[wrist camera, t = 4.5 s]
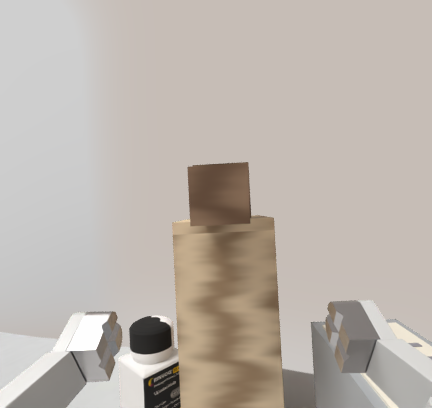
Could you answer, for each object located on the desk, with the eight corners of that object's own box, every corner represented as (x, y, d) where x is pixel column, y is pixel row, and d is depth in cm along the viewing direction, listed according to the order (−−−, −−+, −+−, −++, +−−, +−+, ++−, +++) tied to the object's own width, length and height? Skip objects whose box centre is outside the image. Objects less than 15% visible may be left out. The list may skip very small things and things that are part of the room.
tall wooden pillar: (267, 394, 41) (258, 215, 42) (288, 490, 27) (273, 217, 28) (199, 396, 41) (190, 218, 42) (184, 491, 27) (172, 222, 28)
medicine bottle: (146, 435, 34) (141, 336, 35) (119, 408, 40) (115, 322, 40) (191, 405, 39) (187, 318, 40) (162, 384, 45) (158, 308, 45)
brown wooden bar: (247, 216, 36) (244, 170, 36) (265, 222, 19) (260, 132, 19) (200, 219, 36) (198, 172, 36) (175, 227, 19) (171, 138, 19)
